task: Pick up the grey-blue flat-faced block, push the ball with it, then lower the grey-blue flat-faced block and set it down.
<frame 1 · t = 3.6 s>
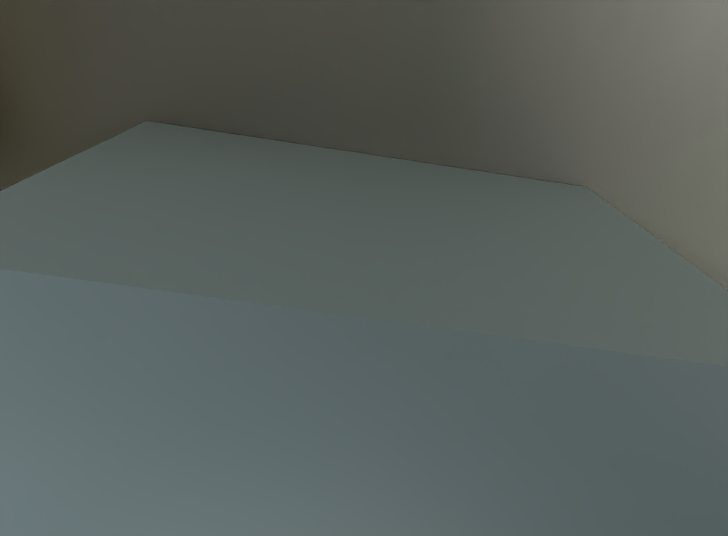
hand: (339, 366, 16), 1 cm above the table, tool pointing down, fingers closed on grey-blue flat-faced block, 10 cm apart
grey-blue flat-faced block: (340, 350, 17), on the table, touching gripper
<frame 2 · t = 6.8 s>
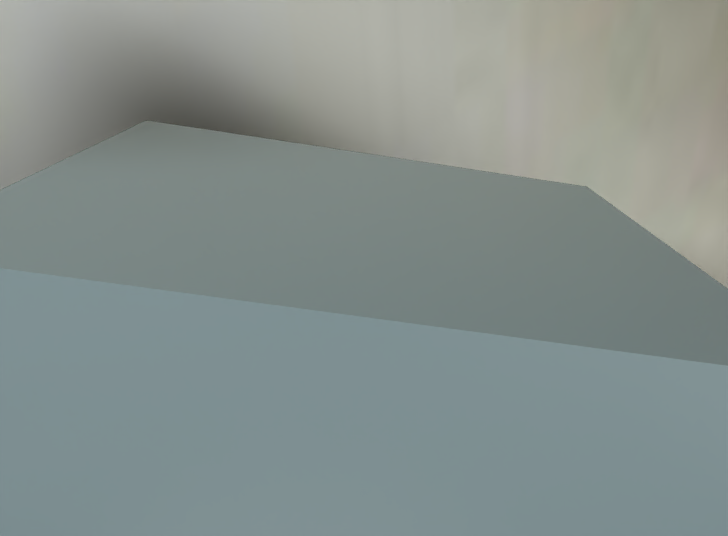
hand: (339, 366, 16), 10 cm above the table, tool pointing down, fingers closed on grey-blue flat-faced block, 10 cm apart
grey-blue flat-faced block: (340, 350, 17), point 9 cm above the table, touching gripper
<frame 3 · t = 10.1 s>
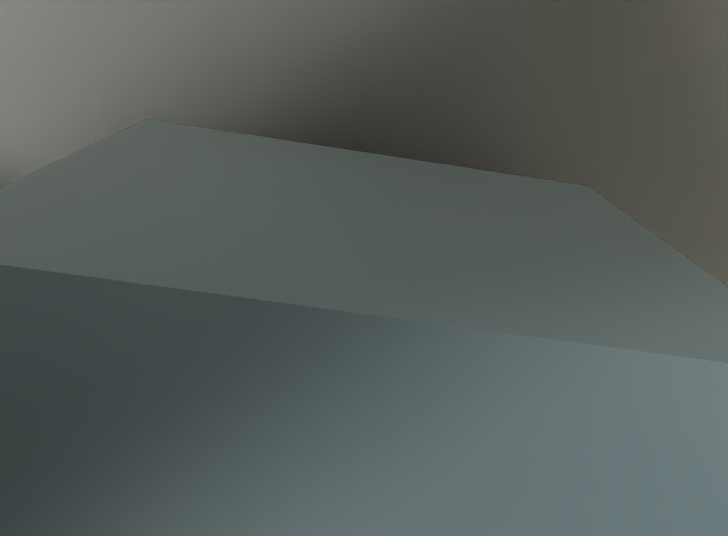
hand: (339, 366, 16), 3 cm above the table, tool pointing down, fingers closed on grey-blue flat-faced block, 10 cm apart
grey-blue flat-faced block: (340, 349, 17), point 3 cm above the table, touching gripper
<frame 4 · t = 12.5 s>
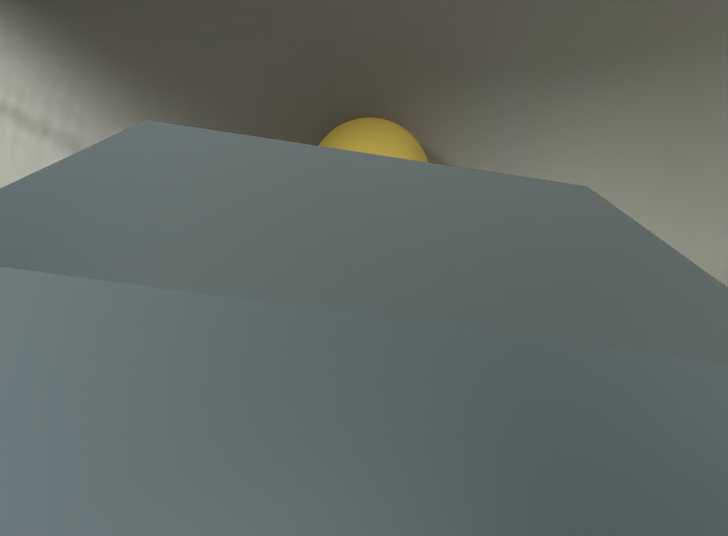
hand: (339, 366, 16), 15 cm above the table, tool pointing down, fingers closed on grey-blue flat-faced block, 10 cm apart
grey-blue flat-faced block: (340, 350, 17), point 14 cm above the table, touching gripper
ball: (369, 179, 27), on the table
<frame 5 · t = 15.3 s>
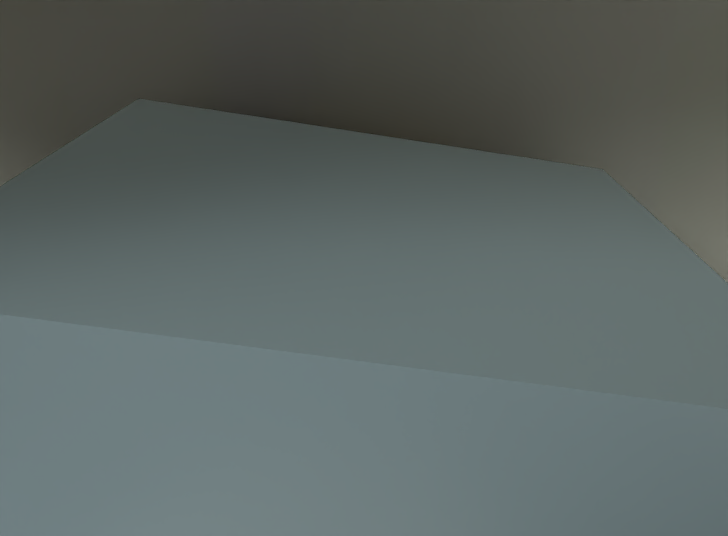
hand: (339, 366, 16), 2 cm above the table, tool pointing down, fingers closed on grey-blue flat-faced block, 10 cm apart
grey-blue flat-faced block: (343, 333, 16), point 1 cm above the table, touching gripper
when the fingers open (1 cm above the table, at t = 15.9 s): grey-blue flat-faced block stays where it is, on the table.
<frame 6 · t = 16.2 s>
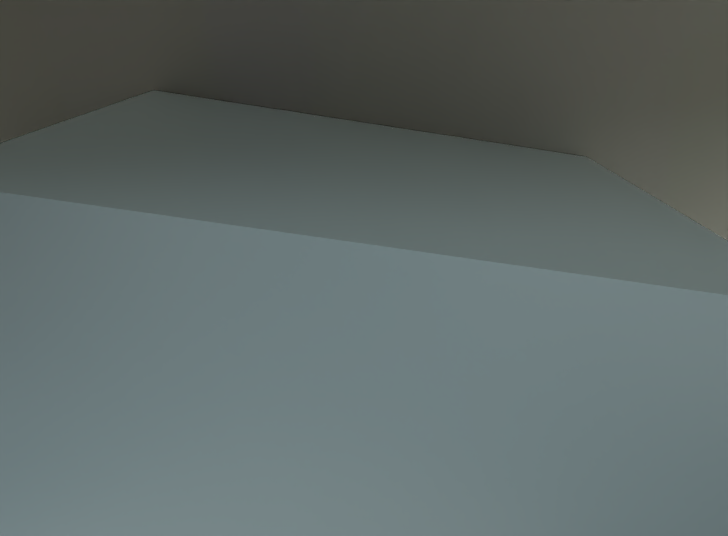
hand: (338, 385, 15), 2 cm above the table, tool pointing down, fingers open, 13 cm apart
grey-blue flat-faced block: (343, 320, 17), on the table
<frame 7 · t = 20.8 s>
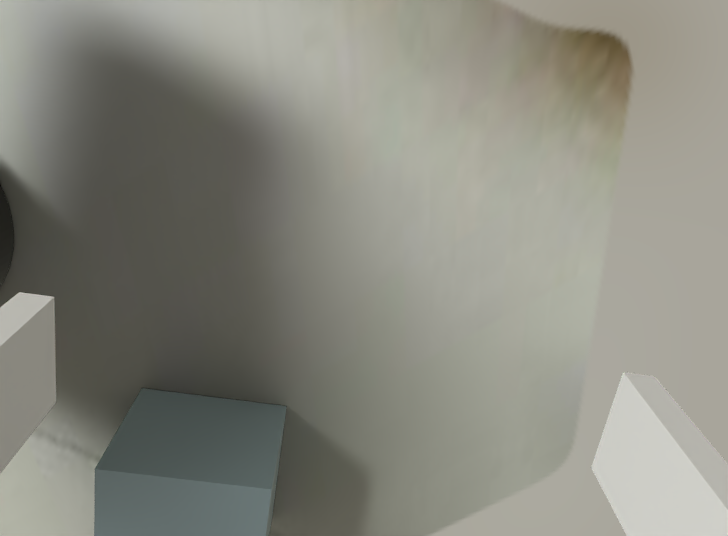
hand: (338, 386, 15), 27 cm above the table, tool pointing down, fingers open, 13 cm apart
grey-blue flat-faced block: (209, 456, 48), on the table
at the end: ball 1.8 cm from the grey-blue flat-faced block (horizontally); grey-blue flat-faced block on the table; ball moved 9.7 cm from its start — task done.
